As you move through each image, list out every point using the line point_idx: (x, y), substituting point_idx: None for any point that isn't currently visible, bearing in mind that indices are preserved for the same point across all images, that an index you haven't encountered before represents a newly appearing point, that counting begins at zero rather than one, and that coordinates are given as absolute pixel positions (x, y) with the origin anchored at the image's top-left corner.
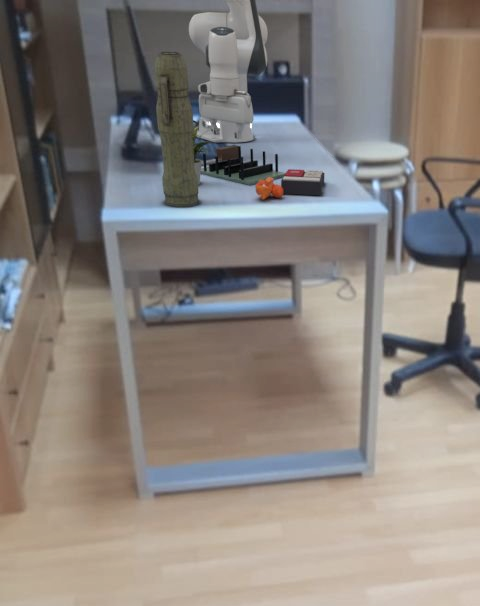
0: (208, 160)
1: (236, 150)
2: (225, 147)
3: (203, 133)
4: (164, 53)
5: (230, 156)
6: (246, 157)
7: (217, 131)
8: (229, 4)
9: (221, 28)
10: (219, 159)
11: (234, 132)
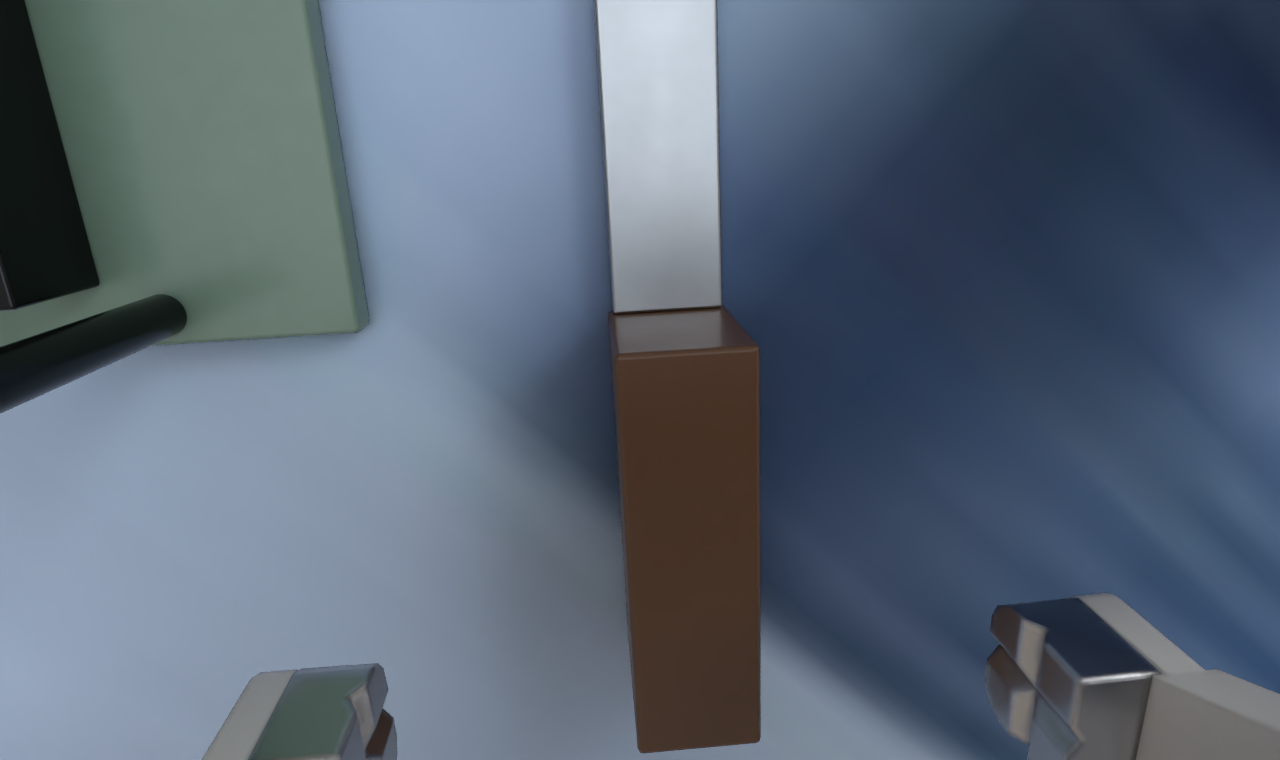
0: (697, 89)
1: (630, 652)
2: (697, 516)
3: None
4: None
5: (619, 493)
6: (588, 707)
7: (1037, 686)
8: None
9: None
10: (636, 283)
11: (334, 755)
